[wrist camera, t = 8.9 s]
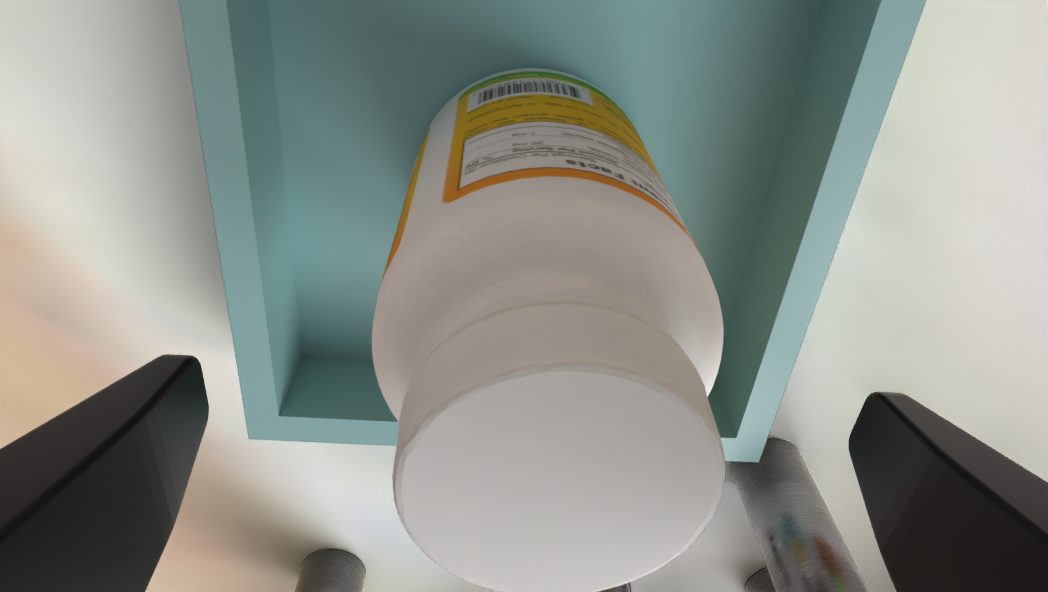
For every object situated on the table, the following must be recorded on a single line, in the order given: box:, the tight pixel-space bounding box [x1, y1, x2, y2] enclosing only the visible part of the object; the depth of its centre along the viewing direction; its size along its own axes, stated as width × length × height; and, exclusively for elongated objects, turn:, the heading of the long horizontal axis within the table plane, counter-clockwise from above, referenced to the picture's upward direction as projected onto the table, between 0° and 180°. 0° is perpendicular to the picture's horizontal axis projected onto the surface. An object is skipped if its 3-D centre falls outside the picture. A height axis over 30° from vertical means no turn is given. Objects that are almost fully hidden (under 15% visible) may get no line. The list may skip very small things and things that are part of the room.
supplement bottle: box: [372, 68, 726, 592], centre depth 12 cm, size 5×5×10 cm
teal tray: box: [179, 0, 926, 462], centre depth 16 cm, size 13×13×3 cm
